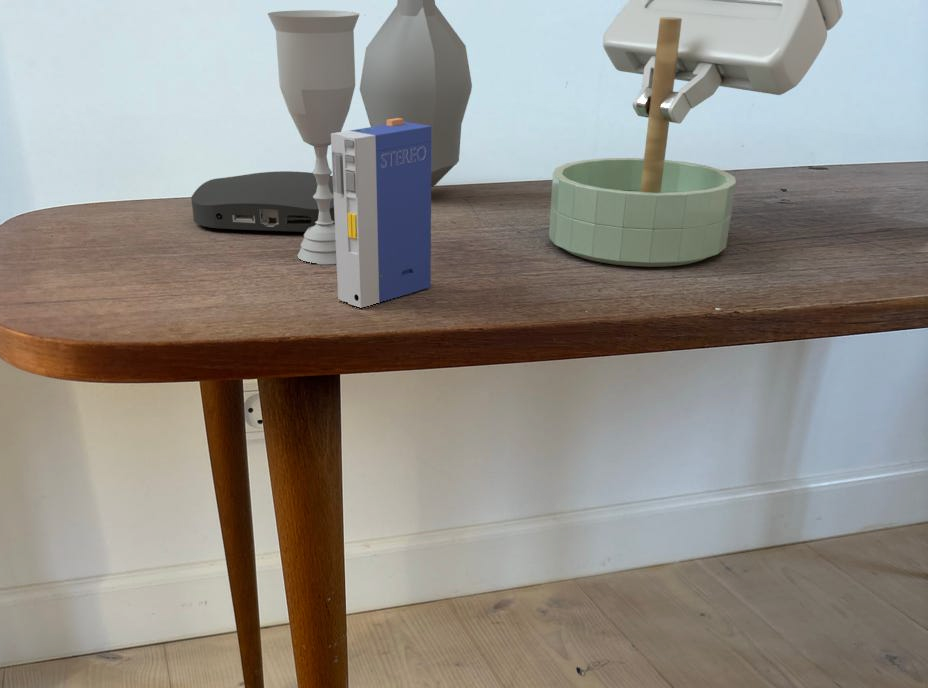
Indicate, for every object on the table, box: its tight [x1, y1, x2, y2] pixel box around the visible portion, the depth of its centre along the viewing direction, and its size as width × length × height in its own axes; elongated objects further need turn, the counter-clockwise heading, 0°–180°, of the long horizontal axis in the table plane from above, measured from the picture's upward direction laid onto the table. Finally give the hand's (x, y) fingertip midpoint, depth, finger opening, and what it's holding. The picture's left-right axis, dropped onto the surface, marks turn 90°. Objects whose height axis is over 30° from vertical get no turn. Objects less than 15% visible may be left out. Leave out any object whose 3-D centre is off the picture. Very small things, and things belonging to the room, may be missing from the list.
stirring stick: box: [640, 17, 682, 193], centre depth 91 cm, size 4×4×15 cm
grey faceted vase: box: [359, 0, 473, 188], centre depth 102 cm, size 11×11×30 cm
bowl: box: [548, 157, 737, 268], centre depth 93 cm, size 16×16×6 cm
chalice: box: [267, 9, 360, 265], centre depth 85 cm, size 7×7×18 cm
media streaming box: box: [190, 170, 335, 233], centre depth 101 cm, size 15×15×3 cm
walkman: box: [330, 118, 432, 308], centre depth 78 cm, size 8×3×12 cm, turn 138°
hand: (654, 115), depth 90 cm, fingers closed on stirring stick, 2 cm apart
